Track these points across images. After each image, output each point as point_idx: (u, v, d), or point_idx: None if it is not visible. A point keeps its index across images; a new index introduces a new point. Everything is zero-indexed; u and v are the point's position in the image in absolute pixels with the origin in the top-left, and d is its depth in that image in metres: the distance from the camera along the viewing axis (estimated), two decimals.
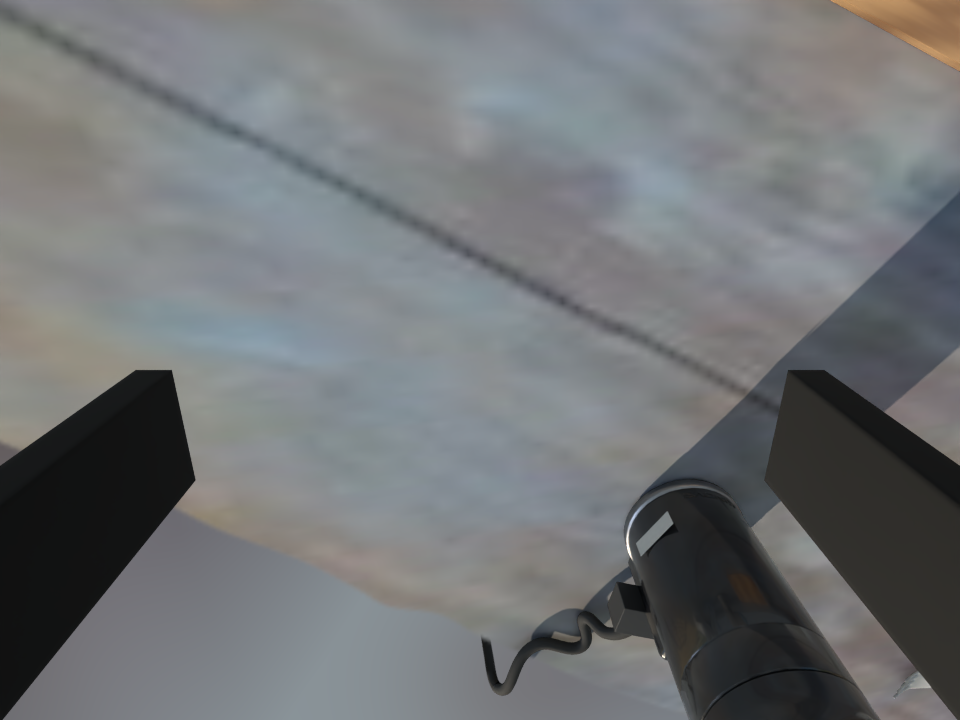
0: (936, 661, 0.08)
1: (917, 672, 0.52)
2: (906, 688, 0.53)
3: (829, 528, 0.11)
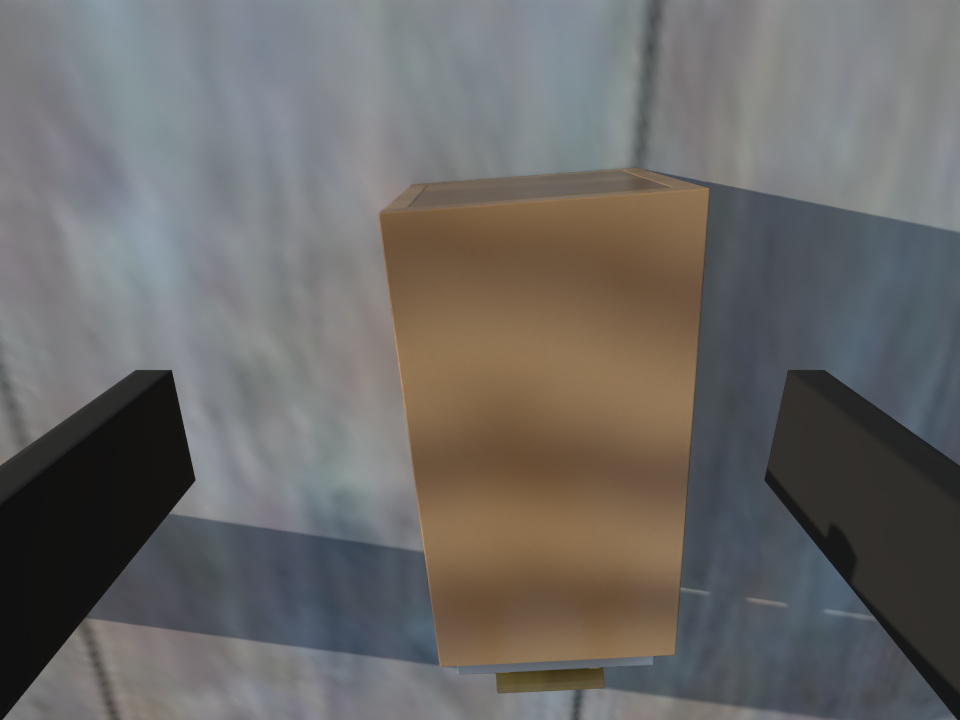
0: (935, 660, 0.08)
1: None
2: None
3: (828, 528, 0.11)
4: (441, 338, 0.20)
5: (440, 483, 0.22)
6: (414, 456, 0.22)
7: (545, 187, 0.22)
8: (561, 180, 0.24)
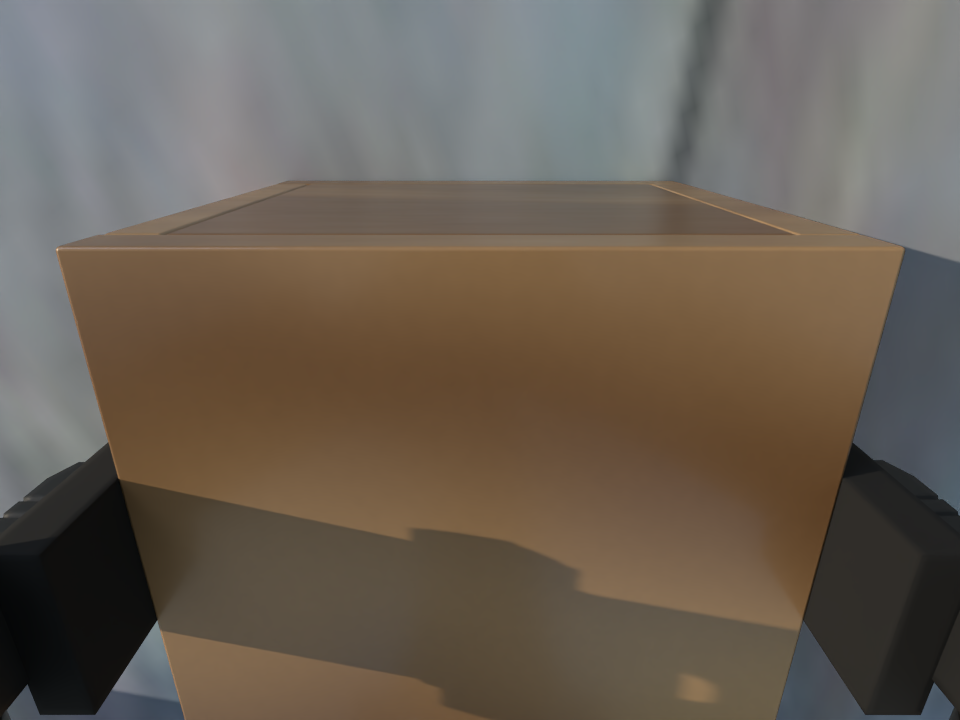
0: (817, 611, 0.09)
1: None
2: None
3: None
4: (239, 537, 0.09)
5: None
6: None
7: (505, 207, 0.10)
8: (542, 194, 0.12)
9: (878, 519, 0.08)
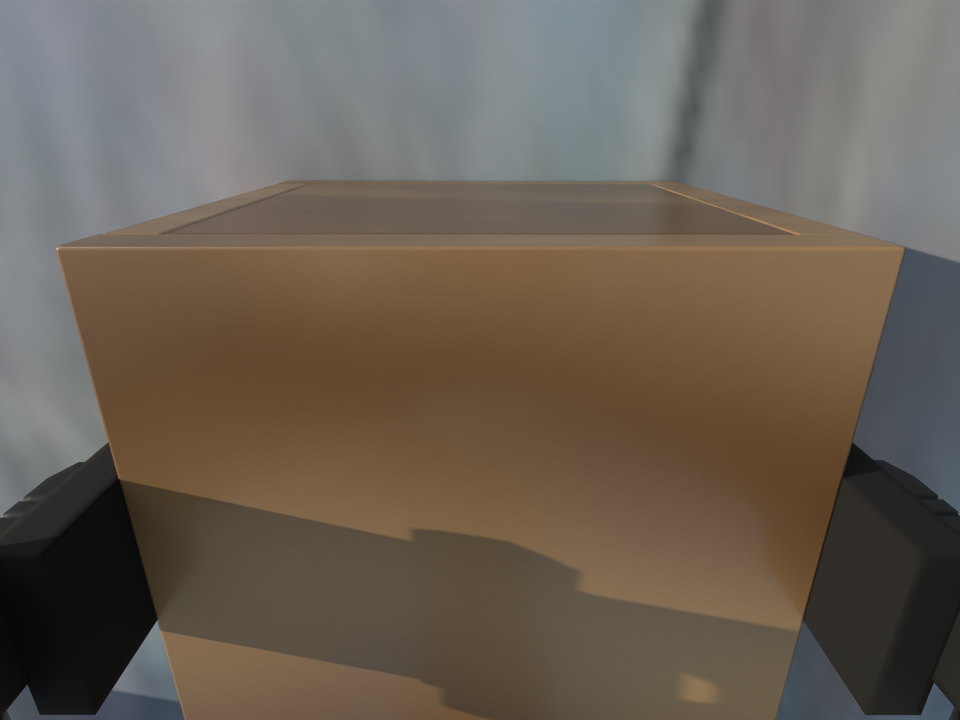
0: (817, 612, 0.09)
1: None
2: None
3: None
4: (239, 536, 0.09)
5: None
6: None
7: (505, 207, 0.10)
8: (542, 194, 0.12)
9: (878, 519, 0.08)
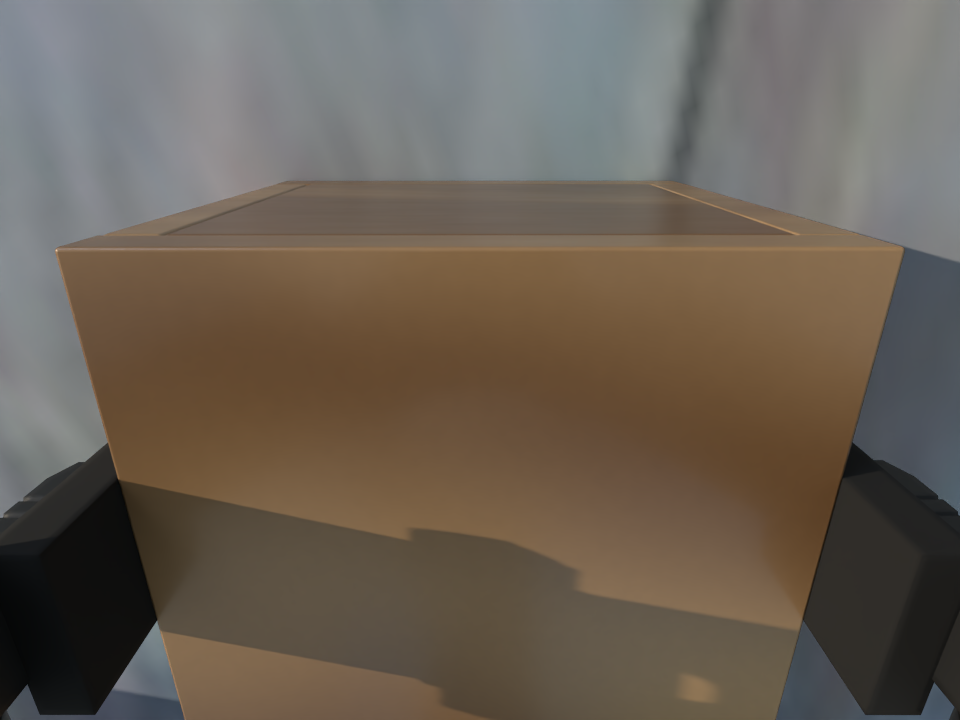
0: (817, 612, 0.09)
1: None
2: None
3: None
4: (238, 537, 0.09)
5: None
6: None
7: (505, 207, 0.10)
8: (541, 194, 0.12)
9: (878, 519, 0.08)
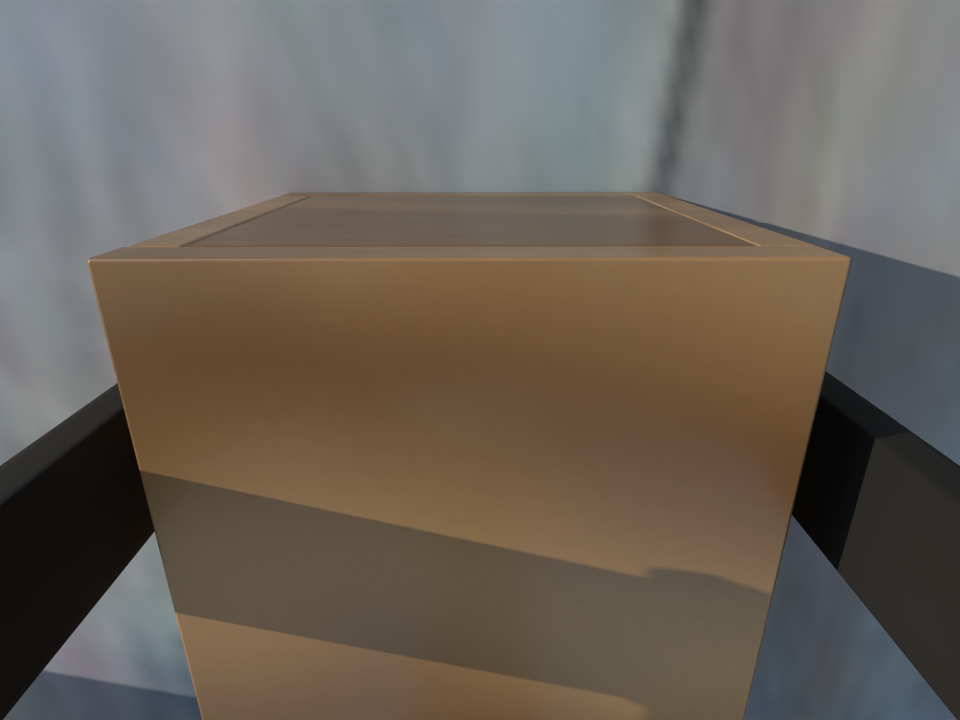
0: (935, 661, 0.08)
1: None
2: None
3: (828, 528, 0.11)
4: (249, 524, 0.09)
5: None
6: None
7: (495, 219, 0.11)
8: (531, 206, 0.13)
9: None
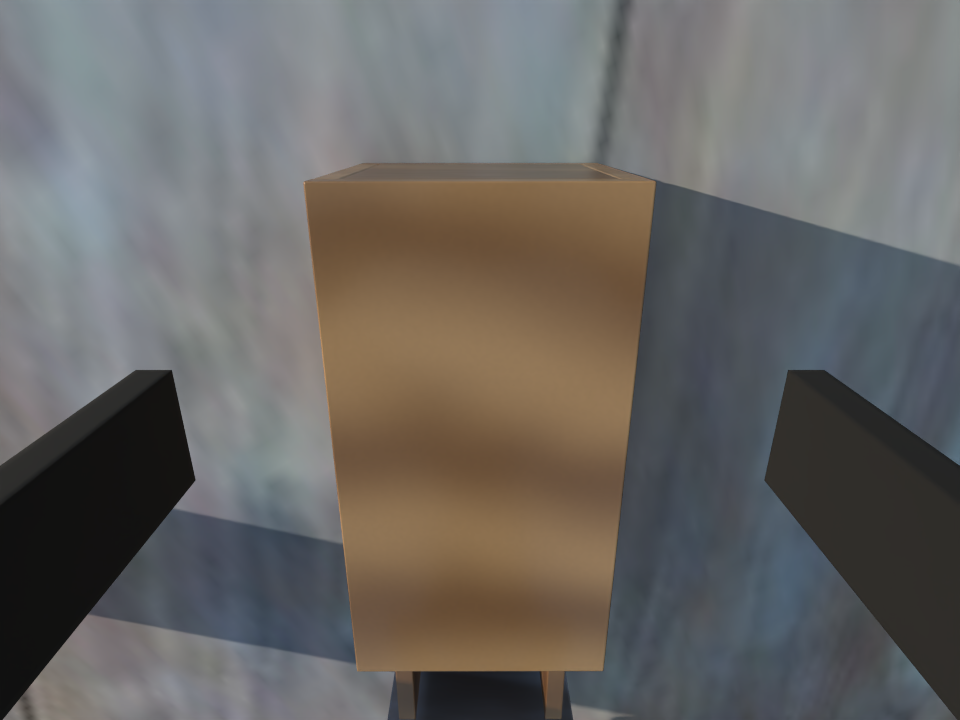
0: (936, 661, 0.08)
1: None
2: None
3: (829, 528, 0.11)
4: (367, 322, 0.19)
5: (362, 476, 0.21)
6: (335, 446, 0.20)
7: (492, 172, 0.20)
8: (514, 168, 0.23)
9: None
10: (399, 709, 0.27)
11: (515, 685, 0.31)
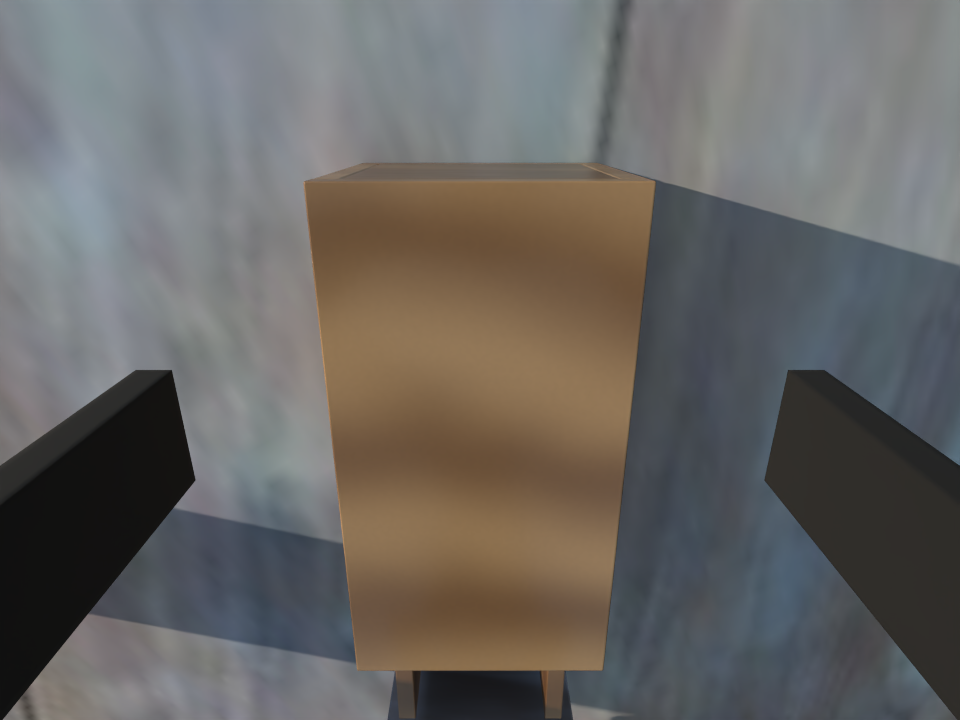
0: (935, 660, 0.08)
1: None
2: None
3: (829, 529, 0.11)
4: (367, 321, 0.19)
5: (362, 476, 0.21)
6: (335, 446, 0.21)
7: (492, 172, 0.21)
8: (514, 168, 0.23)
9: None
10: (399, 708, 0.27)
11: (515, 684, 0.31)
